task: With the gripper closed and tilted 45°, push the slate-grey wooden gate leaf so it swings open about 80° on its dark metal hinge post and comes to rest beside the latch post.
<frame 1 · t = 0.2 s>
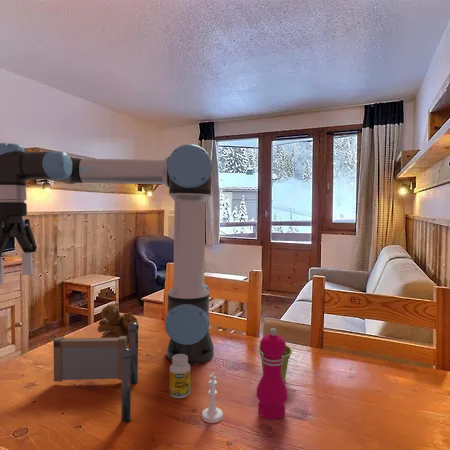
hand: (13, 279, 93), 27 cm above the table, tool pointing down, fingers open, 13 cm apart
plant pot: (274, 379, 95), on the table
supplement bottle: (180, 394, 87), on the table
pepper mill: (271, 412, 80), on the table
gate leaf: (91, 358, 91), point 7 cm above the table, hinge at 0.0°
gate posts: (133, 382, 92), on the table
chess piece: (212, 417, 78), on the table
stuffed squirrel: (118, 340, 121), on the table
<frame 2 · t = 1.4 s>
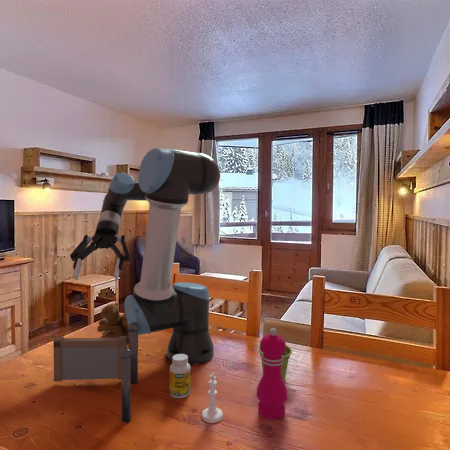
hand: (95, 277, 107), 25 cm above the table, tool tilted 45°, fingers open, 12 cm apart
nothing on the table moved.
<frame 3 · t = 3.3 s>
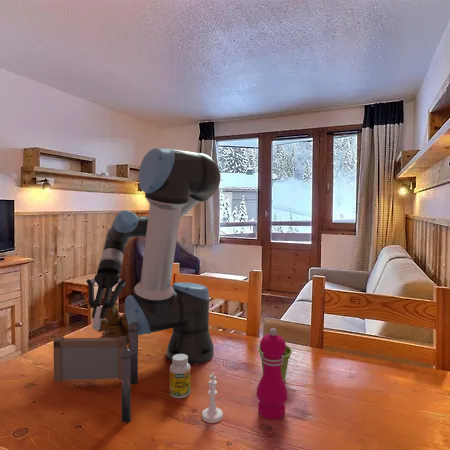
hand: (95, 327, 104), 11 cm above the table, tool tilted 45°, fingers closed
nothing on the table moved.
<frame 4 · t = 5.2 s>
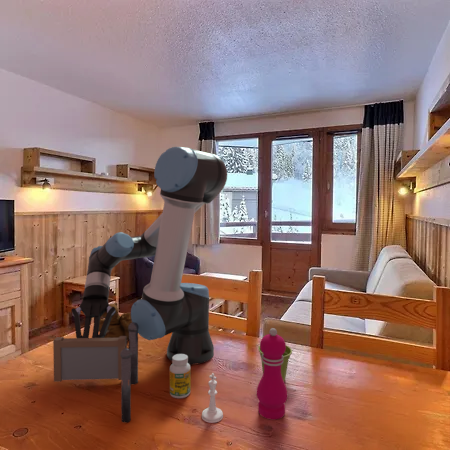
hand: (86, 364, 93), 4 cm above the table, tool tilted 45°, fingers closed
gate leaf: (91, 358, 91), point 7 cm above the table, hinge at 0.3°, touching gripper
everything else where it was.
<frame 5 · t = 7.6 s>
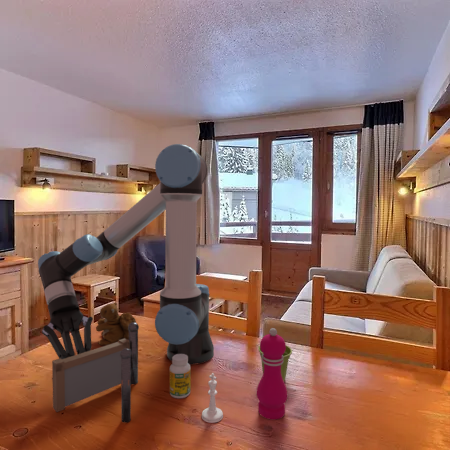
hand: (83, 382, 84), 4 cm above the table, tool tilted 45°, fingers closed
gate leaf: (93, 372, 84), point 7 cm above the table, hinge at 43.5°, touching gripper
everything else where it was.
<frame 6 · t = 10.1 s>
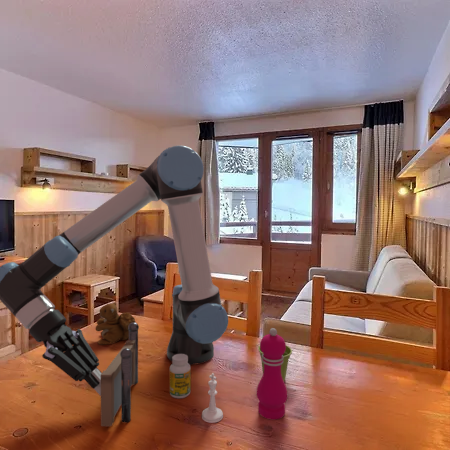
hand: (109, 393, 79), 4 cm above the table, tool tilted 45°, fingers closed
gate leaf: (120, 378, 81), point 7 cm above the table, hinge at 85.2°, touching gripper
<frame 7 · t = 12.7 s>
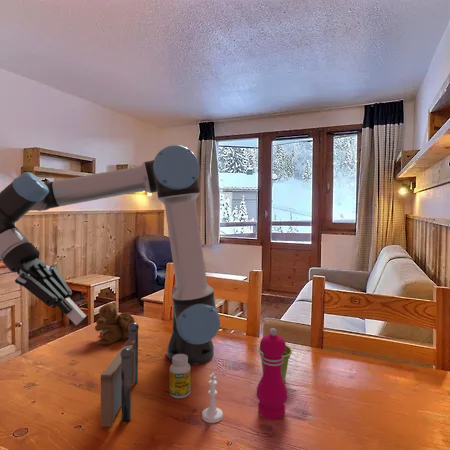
hand: (81, 320, 83), 20 cm above the table, tool tilted 45°, fingers closed
gate leaf: (120, 378, 81), point 7 cm above the table, hinge at 85.2°
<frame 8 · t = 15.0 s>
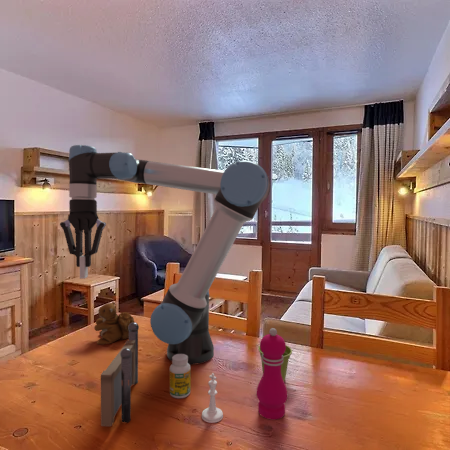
hand: (83, 277, 102), 26 cm above the table, tool pointing down, fingers closed
at the end: gate leaf at +85° (first picture: +0°) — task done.
